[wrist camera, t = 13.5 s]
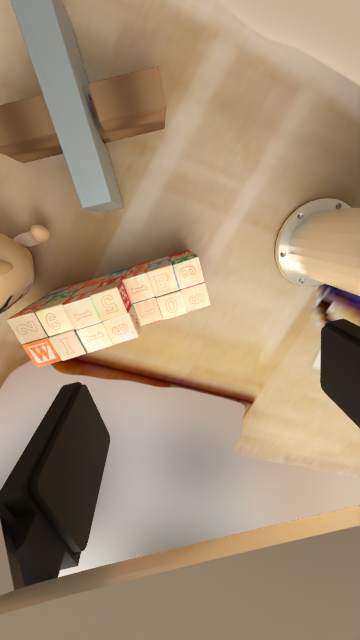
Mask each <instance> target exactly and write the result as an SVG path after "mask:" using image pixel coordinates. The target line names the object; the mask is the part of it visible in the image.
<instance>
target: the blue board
mask: <svg viewBox="0 0 360 640" xmlns="http://www.w3.org/2000/svg"><path fill="white" fill-rule="evenodd" d="M10 1H11V4H12V6H13V9H14V12H15V15H16V18H17V21H18V24H19V27H20V29H21V32H22V35H23V38H24V41H25V44H26V47H27V50H28V53H29V55H30V58H31V61H32V64H33V67H34V70H35V73H36V76H37V78H38V81H39V84H40V87H41V90H42V93H43V96H44V99H45V102H46V104H47V107H48V110H49V113H50V116H51V119H52V122H53V125H54V127H55V130H56V133H57V136H58V139H59V142H60V145H61V148H62V151H63V153H64V156H65V159H66V162H67V165H68V168H69V171H70V174H71V176H72V179H73V182H74V185H75V188H76V191H77V194H78V197H79V199H80V202H81V205H82V208H83V209H88V210H93V211H98V212H106V211H111V210H115V209H119V208H123V207H124V206H123V203H122V199H121V196H120V192H119V189H118V185H117V182H116V178H115V175H114V171H113V167H112V164H111V160H110V157H109V153H108V150H107V147H106V146H105V144H104V143H103V142H102V140H101V136H100V133H99V129H98V126H97V122H96V119H95V115H94V112H93V109H92V105H91V102H90V100H93V97H92V94H91V90H90V87H89V83H88V79H87V76H86V72H85V69H84V65H83V62H82V58H81V55H80V51H79V48H78V44H77V41H76V37H75V34H74V30H73V27H72V23H71V21H70V19H69V16H68V14H67V12H66V10H65V7H64V5H63V3H62V0H10Z"/></svg>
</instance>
